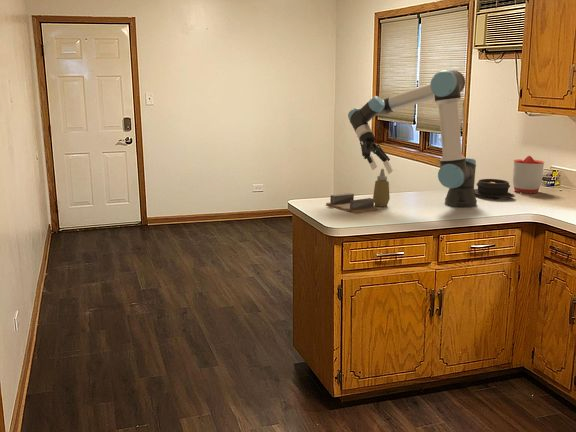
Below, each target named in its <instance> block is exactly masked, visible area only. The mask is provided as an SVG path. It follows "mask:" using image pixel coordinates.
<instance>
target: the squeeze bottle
mask: <svg viewBox="0 0 576 432" xmlns="http://www.w3.org/2000/svg"><path fill="white" fill-rule="evenodd" d="M376 177H377V180H375V181H374V188H373V193H372V199H374V206H375V207H380V206H381V207H383V206H384V207H387V206H388V205H389V201H390V182H389V180H388V176H387V175H386V174H385V169H384V168H381V169H380V173H379V175H377V176H376ZM384 207H383V208H384Z"/></svg>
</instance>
